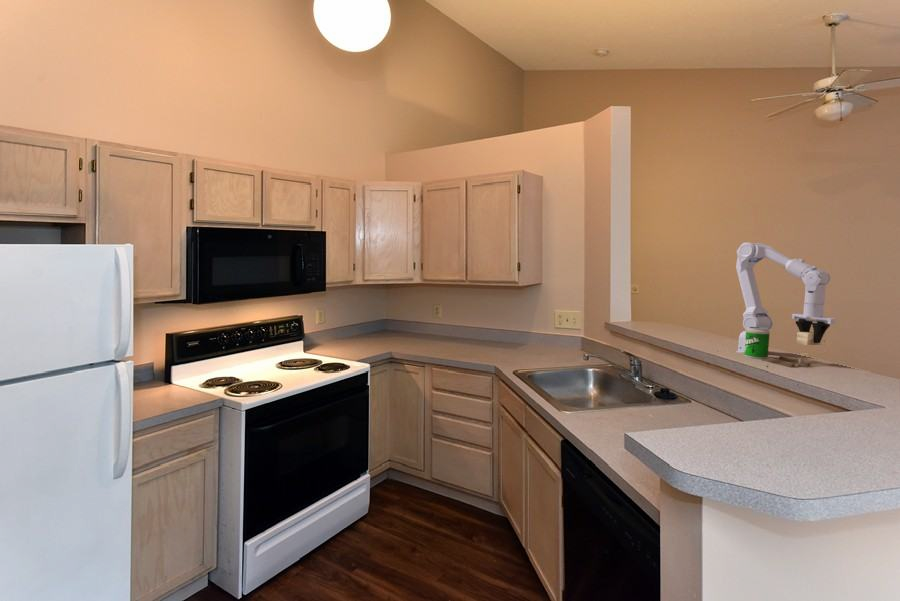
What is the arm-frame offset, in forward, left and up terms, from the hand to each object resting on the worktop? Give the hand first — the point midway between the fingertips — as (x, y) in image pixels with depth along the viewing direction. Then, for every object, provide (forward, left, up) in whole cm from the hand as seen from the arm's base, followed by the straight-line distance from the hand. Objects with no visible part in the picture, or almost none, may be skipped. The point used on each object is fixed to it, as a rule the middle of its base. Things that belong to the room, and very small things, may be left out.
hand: (810, 341), depth 176 cm
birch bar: (0, 0, -1) cm, 1 cm away
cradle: (0, -5, -8) cm, 10 cm away
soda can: (-11, -12, -9) cm, 18 cm away
